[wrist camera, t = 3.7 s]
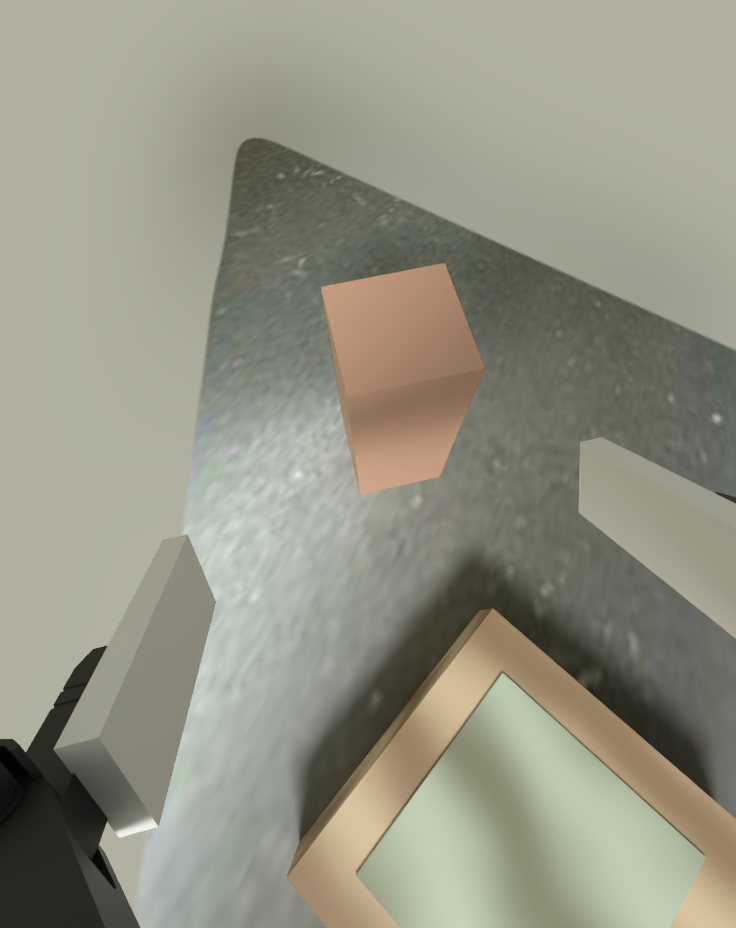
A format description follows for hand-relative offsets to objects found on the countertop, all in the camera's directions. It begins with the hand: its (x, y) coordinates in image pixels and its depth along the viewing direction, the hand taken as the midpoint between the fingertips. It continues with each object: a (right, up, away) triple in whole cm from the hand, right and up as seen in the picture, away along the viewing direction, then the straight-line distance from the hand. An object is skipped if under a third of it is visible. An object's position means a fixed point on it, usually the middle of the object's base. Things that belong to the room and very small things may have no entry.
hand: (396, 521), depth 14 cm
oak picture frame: (+6, -15, +6) cm, 18 cm away
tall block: (+1, +3, +13) cm, 13 cm away
